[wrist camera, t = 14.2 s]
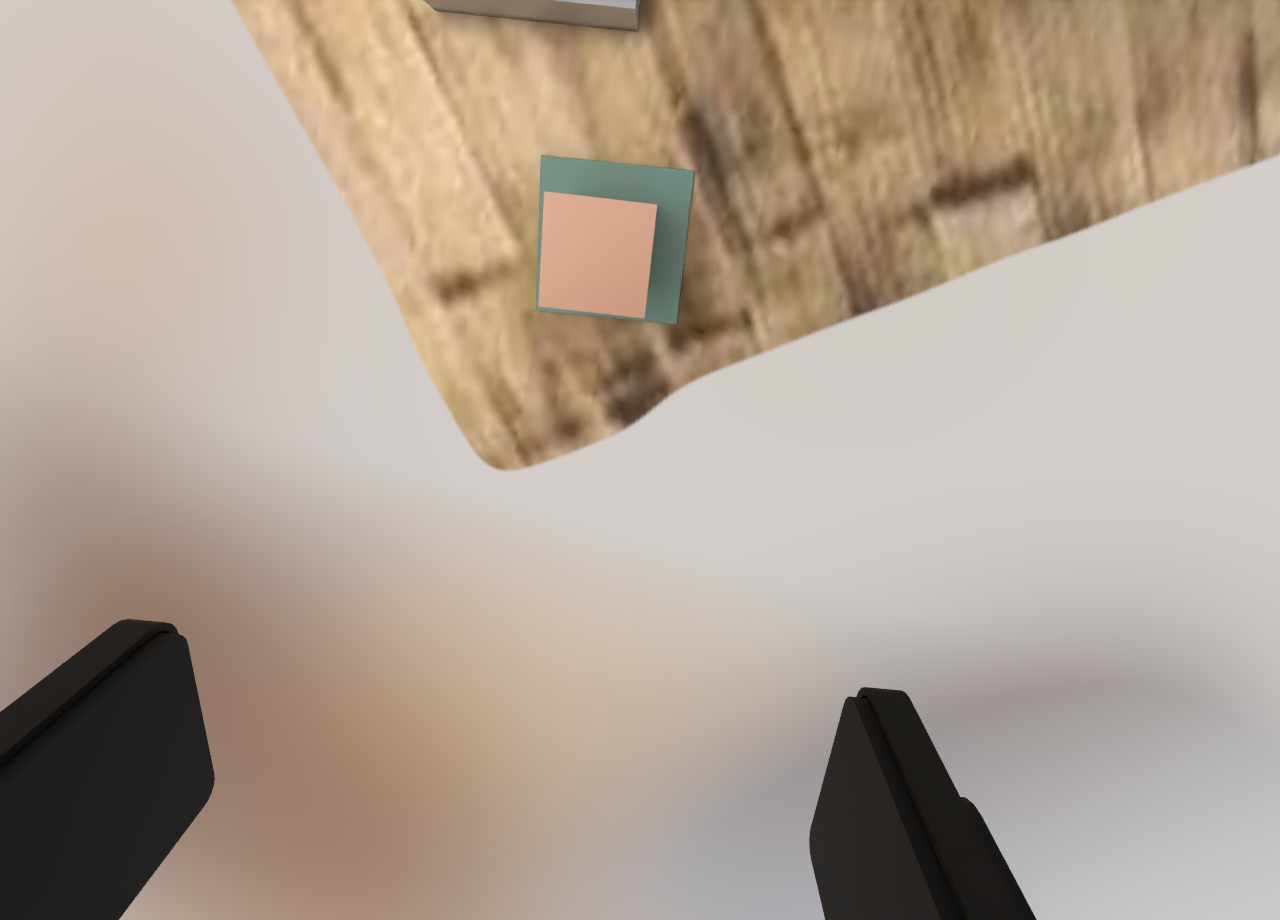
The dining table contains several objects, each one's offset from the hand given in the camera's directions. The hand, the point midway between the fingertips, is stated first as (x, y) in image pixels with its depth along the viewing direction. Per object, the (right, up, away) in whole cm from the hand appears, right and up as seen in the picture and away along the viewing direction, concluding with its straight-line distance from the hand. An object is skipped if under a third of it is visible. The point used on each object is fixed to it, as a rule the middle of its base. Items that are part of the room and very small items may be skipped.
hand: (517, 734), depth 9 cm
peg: (0, +16, +26) cm, 30 cm away
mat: (0, +16, +26) cm, 31 cm away
